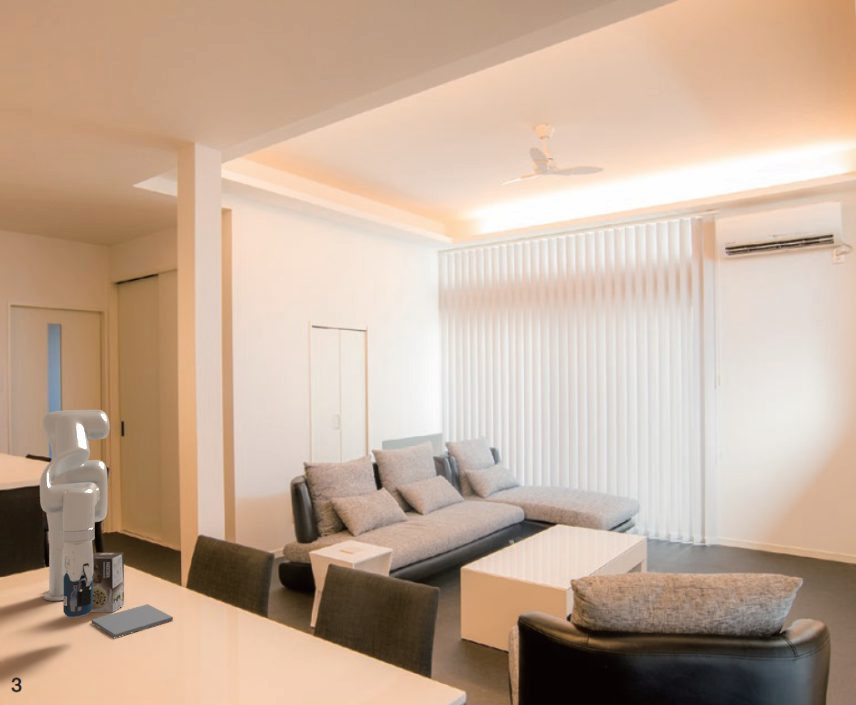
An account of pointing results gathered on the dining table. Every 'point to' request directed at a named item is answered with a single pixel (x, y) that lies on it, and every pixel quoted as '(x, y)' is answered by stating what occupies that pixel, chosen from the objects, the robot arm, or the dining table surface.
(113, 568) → the coffee box
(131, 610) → the mat
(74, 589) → the soda can
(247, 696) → the dining table surface
